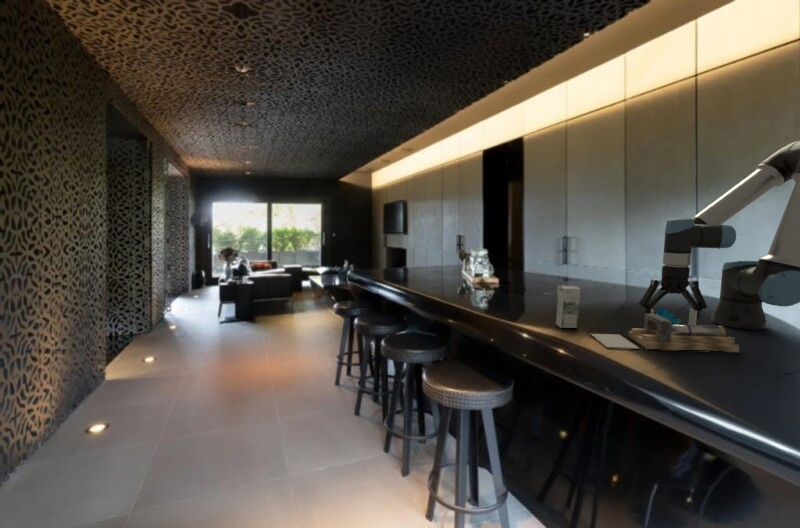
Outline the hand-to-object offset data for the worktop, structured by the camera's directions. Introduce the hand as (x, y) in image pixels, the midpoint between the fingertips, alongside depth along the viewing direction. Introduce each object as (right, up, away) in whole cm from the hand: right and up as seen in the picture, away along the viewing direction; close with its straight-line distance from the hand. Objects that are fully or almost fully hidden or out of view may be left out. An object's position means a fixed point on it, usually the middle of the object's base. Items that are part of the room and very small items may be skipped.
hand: (670, 328), depth 134 cm
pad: (-25, -3, -11) cm, 28 cm away
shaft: (-2, 0, -13) cm, 14 cm away
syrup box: (-33, -1, +6) cm, 33 cm away
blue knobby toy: (0, -2, 0) cm, 2 cm away
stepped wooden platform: (-6, -3, -13) cm, 14 cm away
